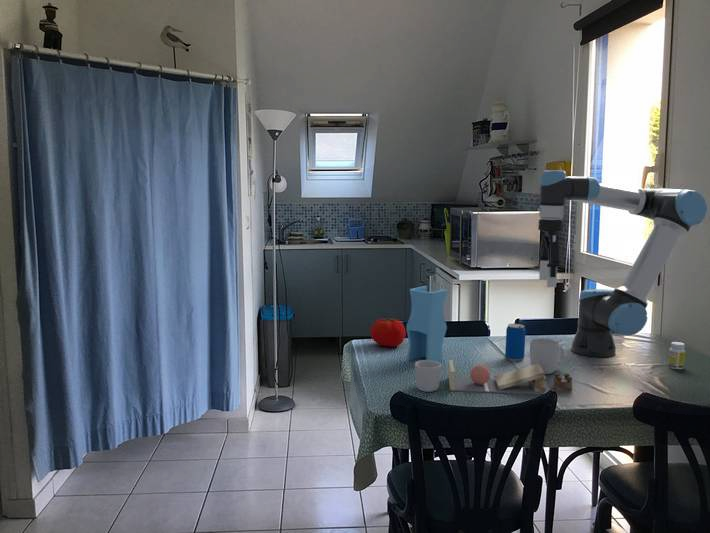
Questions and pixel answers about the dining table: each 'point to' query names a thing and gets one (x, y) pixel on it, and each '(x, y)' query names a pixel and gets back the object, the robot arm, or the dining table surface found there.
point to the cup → (427, 375)
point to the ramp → (523, 378)
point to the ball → (480, 374)
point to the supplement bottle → (676, 355)
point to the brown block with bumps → (562, 382)
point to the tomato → (388, 332)
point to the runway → (487, 385)
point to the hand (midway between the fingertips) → (547, 283)
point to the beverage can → (515, 342)
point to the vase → (426, 324)
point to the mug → (546, 354)
